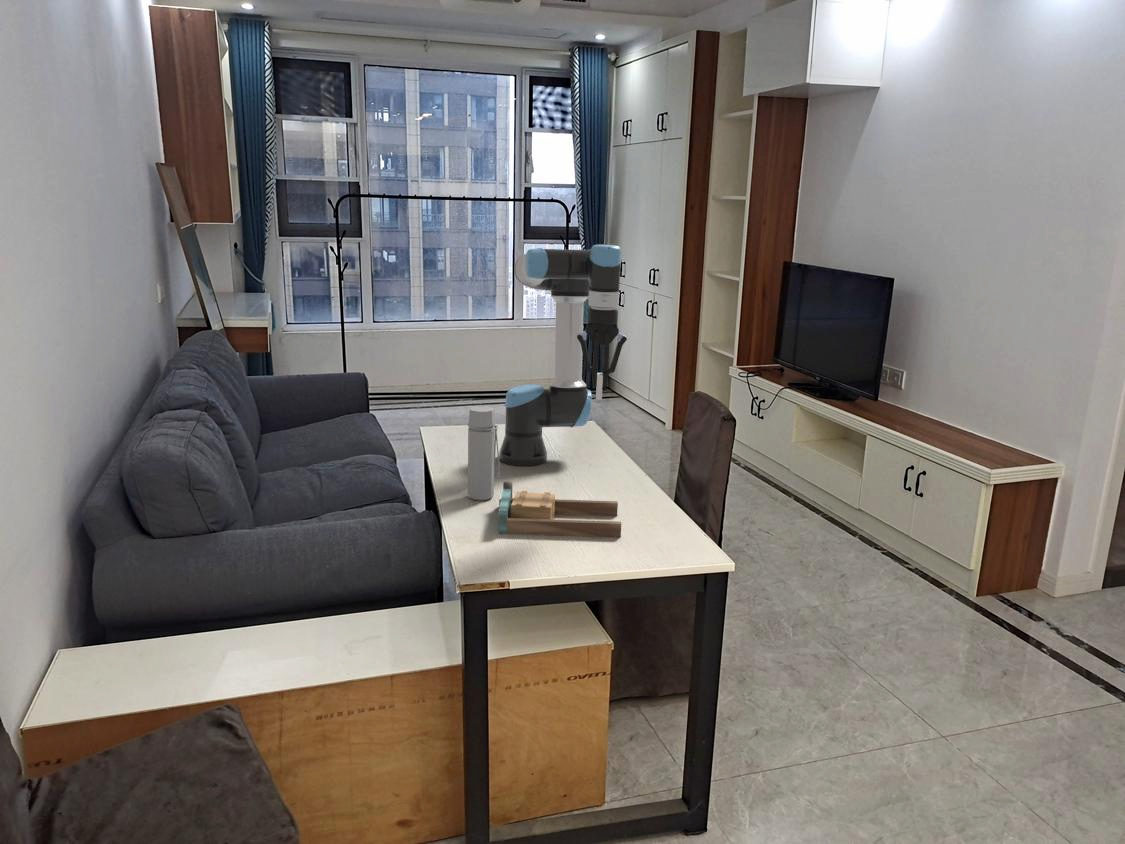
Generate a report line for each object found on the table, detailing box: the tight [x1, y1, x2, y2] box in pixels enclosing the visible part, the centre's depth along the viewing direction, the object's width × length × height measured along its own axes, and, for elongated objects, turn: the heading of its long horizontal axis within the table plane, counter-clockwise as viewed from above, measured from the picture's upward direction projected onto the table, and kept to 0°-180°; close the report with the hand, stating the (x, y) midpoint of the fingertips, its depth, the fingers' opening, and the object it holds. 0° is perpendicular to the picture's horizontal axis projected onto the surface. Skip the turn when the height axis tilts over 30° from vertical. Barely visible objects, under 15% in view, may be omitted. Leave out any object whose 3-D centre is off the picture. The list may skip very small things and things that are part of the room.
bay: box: [497, 480, 622, 538], centre depth 213 cm, size 20×31×7 cm, turn 90°
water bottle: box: [467, 405, 501, 502], centre depth 226 cm, size 9×8×25 cm
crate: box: [510, 490, 556, 520], centre depth 212 cm, size 10×10×6 cm
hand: (598, 398), depth 216 cm, fingers closed
